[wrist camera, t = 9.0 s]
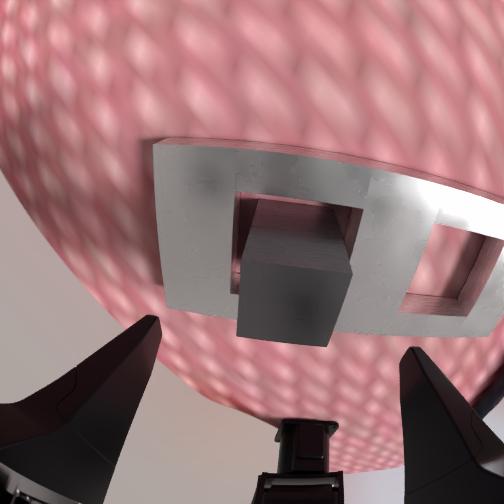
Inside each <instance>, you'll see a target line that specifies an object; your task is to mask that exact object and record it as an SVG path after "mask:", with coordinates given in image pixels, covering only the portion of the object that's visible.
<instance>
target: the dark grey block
mask: <svg viewBox="0 0 504 504" xmlns="http://www.w3.org/2000/svg"><path fill="white" fill-rule="evenodd" d="M352 276H353V272H352V269H351V265H350V261H349V258H348V254H347V251H346V247H345V244H344V240H343V237H342V234H341V230H340V227H339V224H338V221H337V218H336V214H335V211H334V209H332V208H326V207H319V206H312V205H305V204H298V203H291V202H284V201H276V200H268V199H260V198H259V201H258V204H257V208H256V211H255V214H254V218H253V221H252V225H251V228H250V231H249V235H248V238H247V241H246V245H245V248H244V252H243V255H242V258H241V269H240V285H239V301H238V317H237V333H236V336H238V337H245V338H252V339H259V340H266V341H274V342H282V343H290V344H299V345H309V346H320V347H327V345H328V343H329V340H330V338H331V335H332V332H333V330H334V327H335V324H336V322H337V319H338V316H339V314H340V311H341V308H342V305H343V302H344V300H345V297H346V294H347V291H348V288H349V285H350V282H351V279H352Z"/></svg>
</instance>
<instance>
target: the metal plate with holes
mask: <svg viewBox="0 0 504 504" xmlns="http://www.w3.org/2000/svg"><path fill="white" fill-rule="evenodd" d="M153 169H154V190H155V205H156V219H157V230H158V241H159V251H160V260H161V268H162V276H163V284H164V291H165V298H166V305H167V308H172V309H177V310H182V311H188V312H193V313H199V314H205V315H211V316H217V317H223V318H229V319H236V320H237V317H238V301H239V285H240V273H236V263H237V245H238V228H239V212H240V196H241V192H249V193H257V194H266V195H274V196H282V197H289V198H297V199H304V200H311V201H318V202H324V203H331V204H337V205H343V206H349V207H353V208H352V212H351V216H350V220H349V225H348V229H347V233H346V237H345V240H344V244H345V247H346V251H347V254H348V258H349V261H350V265H351V269H352V272H353V276H352V279H351V282H350V285H349V288H348V291H347V294H346V297H345V300H344V302H343V305H342V308H341V311H340V314H339V316H338V319H337V322H336V324H335V327H334V330H333V331H334V332H346V333H359V334H373V335H390V336H413V337H489V335H490V334H491V332H492V331H493V329H494V328H495V326H496V325H497V323H498V322H499V320H500V319H501V317H502V316H503V314H504V199H503V198H501V197H498V196H495V195H493V194H490V193H487V192H484V191H482V190H479V189H476V188H473V187H470V186H467V185H464V184H461V183H458V182H455V181H451V180H448V179H445V178H442V177H438V176H435V175H431V174H428V173H424V172H420V171H417V170H413V169H409V168H405V167H401V166H397V165H393V164H388V163H384V162H380V161H375V160H370V159H366V158H361V157H356V156H350V155H345V154H340V153H334V152H328V151H322V150H316V149H309V148H302V147H295V146H287V145H279V144H270V143H261V142H251V141H239V140H225V139H209V138H183V137H168V138H166V139H164V140H162V141H159V142H157V143H155V144H153ZM434 223H438V224H442V225H446V226H451V227H455V228H459V229H464V230H468V231H472V232H476V233H480V234H484V235H487V236H486V238H485V241H484V243H483V245H482V248H481V250H480V252H479V255H478V257H477V259H476V261H475V264H474V266H473V268H472V270H471V272H470V274H469V276H468V278H467V280H466V282H465V284H464V286H463V288H462V290H461V292H460V294H459V296H458V298H446V297H436V296H425V295H415V294H406V293H407V290H408V288H409V286H410V284H411V281H412V279H413V277H414V274H415V272H416V270H417V267H418V265H419V262H420V260H421V257H422V255H423V252H424V250H425V247H426V244H427V242H428V239H429V236H430V233H431V230H432V228H433V225H434Z"/></svg>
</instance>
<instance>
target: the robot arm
mask: <svg viewBox="0 0 504 504" xmlns="http://www.w3.org/2000/svg"><path fill="white" fill-rule="evenodd" d="M161 338H162V330H161V325H160V320H159V317H157V316H154V315H146V316H144V317H143V318H142V319H140V320H139V321H137V322H136V323H135V324H133V325H132V326H130V327H129V328H128V329H126V330H125V331H124V332H122V333H121V334H120V335H118V336H117V337H115V338H114V339H113V340H111V341H110V342H108V343H107V344H106V345H104V346H103V347H102V348H100V349H99V350H97V351H96V352H95V353H93V354H92V355H91V356H89V357H88V358H86V359H85V360H84V361H82V362H81V363H80V364H78V365H77V367H74V368H73V369H71V370H70V371H69V372H67V373H66V374H65V375H63V376H61V377H60V378H59V379H57V380H55V381H54V382H52V383H51V384H49V385H47V386H46V387H44V388H42V389H41V390H39V391H37V392H35V393H34V394H32V395H30V396H28V397H27V398H25V399H23V400H21V401H18V402H15V403H9V404H0V504H79V503H81V504H103V502H104V499H105V496H106V493H107V490H108V487H109V484H110V481H111V478H112V476H113V473H114V470H115V466H116V464H117V461H118V458H119V456H120V453H121V450H122V447H123V445H124V442H125V439H126V437H127V434H128V431H129V429H130V426H131V424H132V421H133V418H134V416H135V413H136V411H137V408H138V406H139V403H140V400H141V398H142V396H143V393H144V391H145V388H146V386H147V383H148V381H149V378H150V376H151V373H152V370H153V366H154V363H155V359H156V355H157V352H158V348H159V345H160V342H161ZM399 372H400V405H401V416H402V427H403V442H404V465H405V496H404V504H504V443H503V442H502V441H501V440H500V439H499V438H498V437H497V436H496V435H495V433H494V432H493V431H492V430H491V429H490V428H489V427H488V426H487V425H486V424H485V423H484V422H483V420H482V419H481V418H480V416H479V415H478V414H477V413H476V412H475V410H474V409H472V407H471V406H470V404H469V403H468V402H467V401H466V399H465V398H464V397H463V396H462V395H461V393H460V392H459V391H458V390H457V389H456V387H455V386H454V385H453V384H452V383H451V382H450V380H449V379H448V378H447V377H446V376H445V375H444V373H443V372H442V371H441V370H440V369H439V368H438V367H437V365H436V364H435V363H434V362H433V361H432V360H431V359H430V358H429V356H428V355H427V354H426V353H425V352H424V351H423V350H422V349H421V348H420V347H415V346H411V347H409V348H408V349H407V351H406V353H405V354H404V356H403V357H402V359H401V361H400V364H399ZM338 428H339V424H338V423H330V422H307V421H293V420H283V421H282V422H281V424H280V427H279V429H278V432H277V434H276V437H275V442H280V449H279V460H278V469H277V473H267V472H263V473H262V475H259V476H258V482H257V488H256V491H255V494H254V497H253V500H252V503H251V504H344V486H343V471H338V472H329V438H330V437H331V436H332V435H333V434H334V432H335V431H336V430H337V429H338ZM333 484H334V487H332V485H333Z"/></svg>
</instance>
